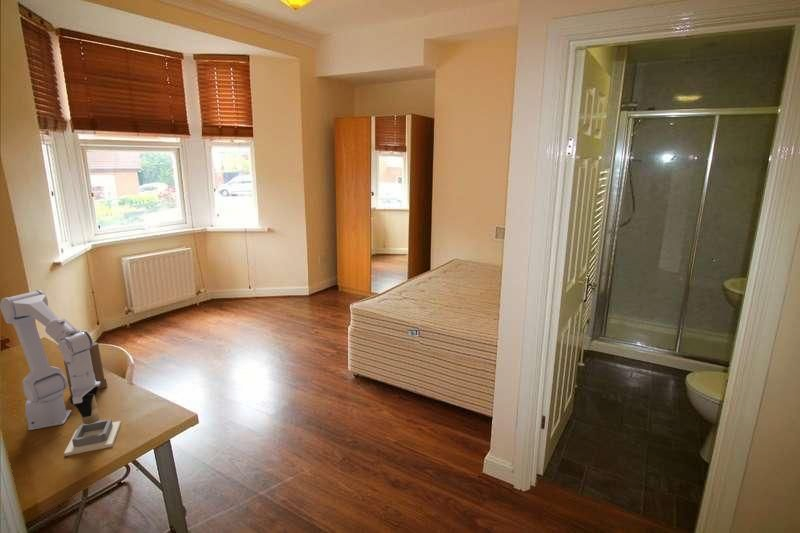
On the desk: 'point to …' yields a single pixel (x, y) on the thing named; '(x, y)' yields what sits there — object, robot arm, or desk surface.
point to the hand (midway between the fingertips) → (89, 411)
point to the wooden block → (96, 367)
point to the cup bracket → (93, 437)
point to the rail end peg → (94, 415)
